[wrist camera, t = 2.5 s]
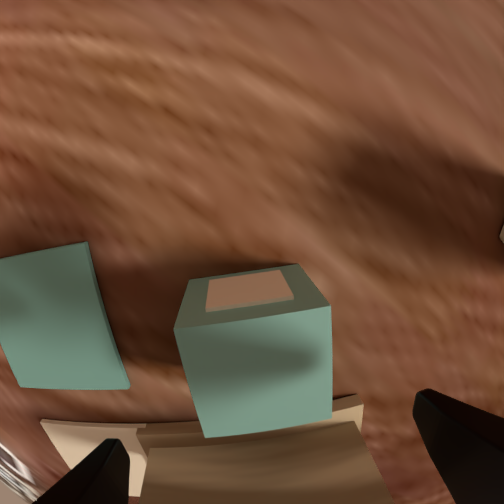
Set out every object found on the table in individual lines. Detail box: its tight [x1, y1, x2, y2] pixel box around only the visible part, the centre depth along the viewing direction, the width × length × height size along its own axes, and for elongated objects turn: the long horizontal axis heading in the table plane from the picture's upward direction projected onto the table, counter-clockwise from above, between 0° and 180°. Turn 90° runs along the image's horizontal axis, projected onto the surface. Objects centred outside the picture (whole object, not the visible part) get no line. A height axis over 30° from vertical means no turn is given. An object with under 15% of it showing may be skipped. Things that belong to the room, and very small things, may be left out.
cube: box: [173, 264, 332, 438], centre depth 13 cm, size 5×5×5 cm
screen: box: [136, 394, 395, 504], centre depth 13 cm, size 4×13×8 cm, turn 97°
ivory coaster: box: [40, 419, 148, 496], centre depth 17 cm, size 8×8×1 cm
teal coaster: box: [0, 241, 130, 390], centre depth 14 cm, size 8×8×1 cm
